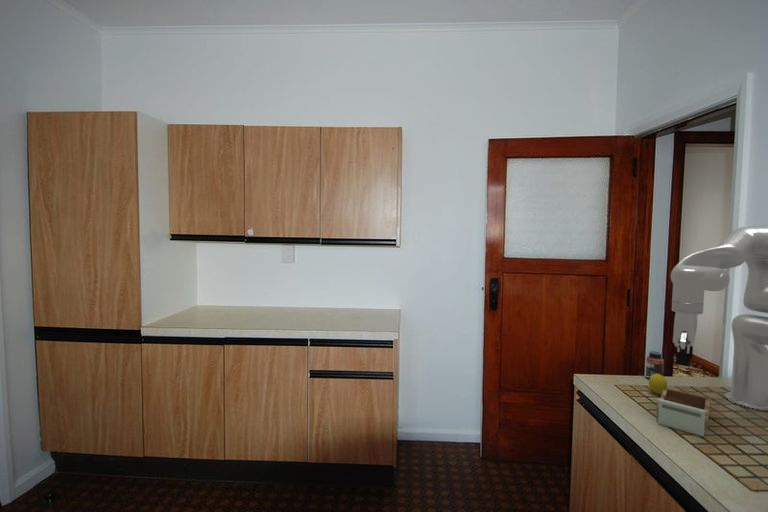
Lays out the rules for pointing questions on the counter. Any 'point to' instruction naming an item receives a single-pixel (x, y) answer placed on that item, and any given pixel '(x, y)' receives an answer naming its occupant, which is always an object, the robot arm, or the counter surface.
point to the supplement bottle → (654, 364)
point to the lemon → (657, 383)
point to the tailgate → (681, 417)
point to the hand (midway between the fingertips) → (684, 361)
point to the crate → (687, 402)
